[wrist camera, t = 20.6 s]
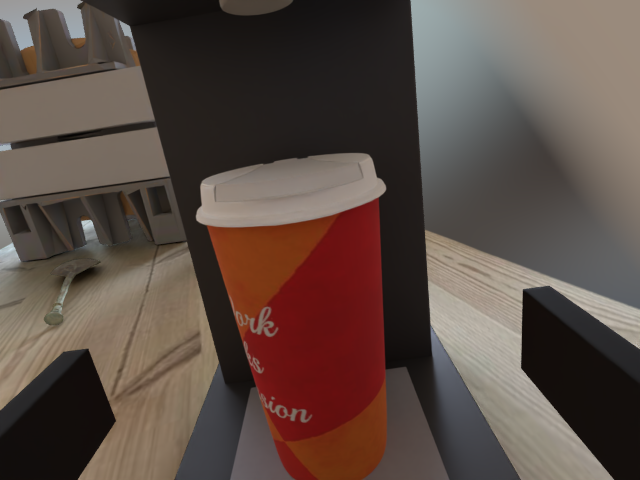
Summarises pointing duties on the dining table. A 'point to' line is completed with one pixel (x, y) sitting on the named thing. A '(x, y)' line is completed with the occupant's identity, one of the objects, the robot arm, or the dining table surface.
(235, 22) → the coffee maker
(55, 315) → the soupspoon
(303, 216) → the paper cup
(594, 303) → the dining table surface
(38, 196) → the transformer
